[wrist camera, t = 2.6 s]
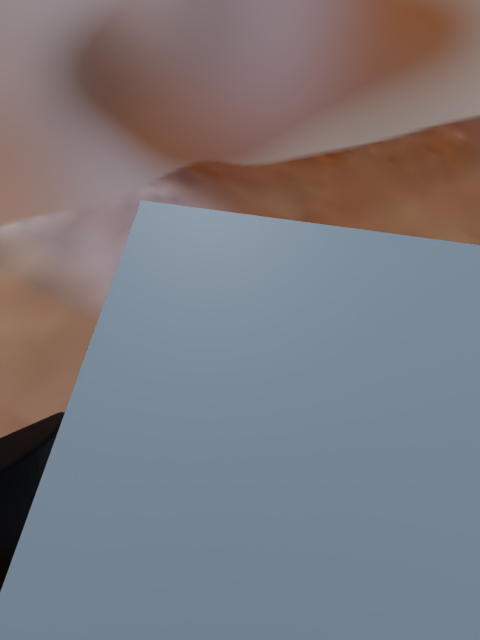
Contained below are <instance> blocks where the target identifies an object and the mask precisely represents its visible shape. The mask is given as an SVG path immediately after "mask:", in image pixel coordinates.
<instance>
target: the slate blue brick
mask: <svg viewBox="0 0 480 640" xmlns="http://www.w3.org/2000/svg"><path fill="white" fill-rule="evenodd" d="M0 640H480V245H474V244H466V243H459V242H451V241H444V240H436V239H429V238H421V237H413V236H406V235H398V234H391V233H383V232H376V231H368V230H361V229H353V228H345V227H338V226H330V225H323V224H315V223H308V222H300V221H293V220H285V219H278V218H270V217H262V216H255V215H247V214H240V213H232V212H225V211H217V210H210V209H202V208H194V207H187V206H179V205H172V204H164V203H157V202H149V201H142V200H141V202H140V205H139V208H138V211H137V214H136V216H135V219H134V222H133V225H132V228H131V230H130V233H129V236H128V239H127V241H126V244H125V247H124V250H123V253H122V255H121V258H120V261H119V264H118V266H117V269H116V272H115V275H114V278H113V280H112V283H111V286H110V289H109V291H108V294H107V297H106V300H105V303H104V305H103V308H102V311H101V314H100V316H99V319H98V322H97V325H96V328H95V330H94V333H93V336H92V339H91V341H90V344H89V347H88V350H87V353H86V355H85V358H84V361H83V364H82V366H81V369H80V372H79V375H78V378H77V380H76V383H75V386H74V389H73V391H72V394H71V397H70V400H69V403H68V405H67V408H66V411H65V414H64V417H63V419H62V422H61V425H60V428H59V430H58V433H57V436H56V439H55V442H54V444H53V447H52V450H51V453H50V455H49V458H48V461H47V464H46V467H45V469H44V472H43V475H42V478H41V480H40V483H39V486H38V489H37V492H36V494H35V497H34V500H33V503H32V505H31V508H30V511H29V514H28V517H27V519H26V522H25V525H24V528H23V530H22V533H21V536H20V539H19V542H18V544H17V547H16V550H15V553H14V555H13V558H12V561H11V564H10V567H9V569H8V572H7V575H6V578H5V581H4V583H3V586H2V589H1V592H0Z"/></svg>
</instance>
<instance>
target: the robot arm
mask: <svg viewBox="0 0 480 640" xmlns="http://www.w3.org/2000/svg"><path fill="white" fill-rule="evenodd" d="M64 414H65V412H59V413H57V414H54V415H52V416H50V417H47V418H45V419H43V420H41V421H38V422H36V423H34V424H31V425H29V426H27V427H25V428H22V429H20V430H18V431H15V432H13V433H11V434H9V435H6V436H4V437H2V438H0V592H1V589H2V586H3V583H4V581H5V578H6V575H7V572H8V569H9V567H10V564H11V561H12V558H13V555H14V553H15V550H16V547H17V544H18V542H19V539H20V536H21V533H22V530H23V528H24V525H25V522H26V519H27V517H28V514H29V511H30V508H31V505H32V503H33V500H34V497H35V494H36V492H37V489H38V486H39V483H40V480H41V478H42V475H43V472H44V469H45V467H46V464H47V461H48V458H49V455H50V453H51V450H52V447H53V444H54V442H55V439H56V436H57V433H58V430H59V428H60V425H61V422H62V419H63V417H64Z"/></svg>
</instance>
